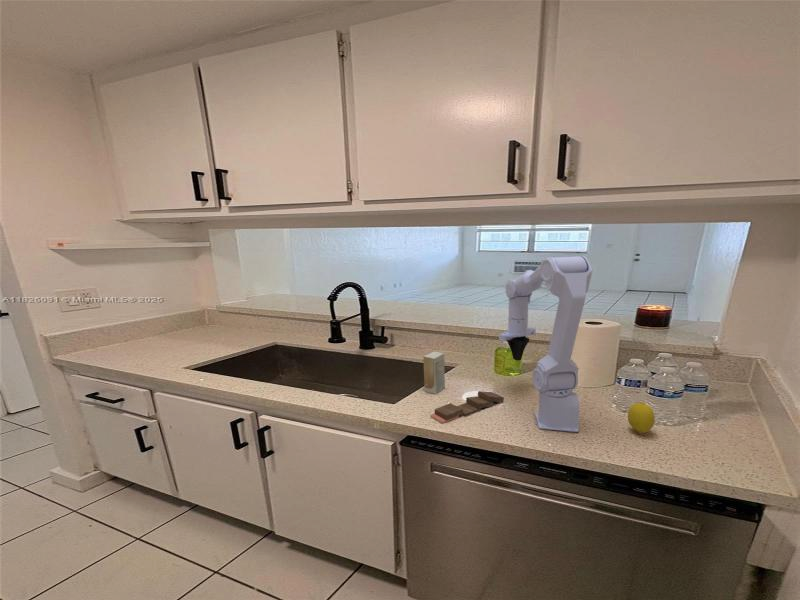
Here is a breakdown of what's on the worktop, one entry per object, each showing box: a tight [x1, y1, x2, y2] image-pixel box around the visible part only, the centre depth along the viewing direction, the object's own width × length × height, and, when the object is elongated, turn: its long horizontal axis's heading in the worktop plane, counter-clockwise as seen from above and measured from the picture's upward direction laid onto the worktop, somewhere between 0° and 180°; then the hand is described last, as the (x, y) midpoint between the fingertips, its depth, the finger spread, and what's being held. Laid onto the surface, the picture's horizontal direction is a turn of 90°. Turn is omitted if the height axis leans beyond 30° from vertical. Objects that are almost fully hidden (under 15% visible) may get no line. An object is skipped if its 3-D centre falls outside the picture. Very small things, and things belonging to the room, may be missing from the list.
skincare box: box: [423, 351, 446, 395], centre depth 119 cm, size 6×4×12 cm
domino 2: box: [430, 412, 460, 425], centre depth 101 cm, size 1×5×6 cm
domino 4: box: [465, 396, 494, 409], centre depth 108 cm, size 1×5×6 cm
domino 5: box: [477, 390, 505, 403], centre depth 110 cm, size 1×5×6 cm
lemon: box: [627, 401, 656, 434], centre depth 90 cm, size 6×6×8 cm
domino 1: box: [434, 402, 463, 420], centre depth 102 cm, size 1×5×6 cm
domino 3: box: [456, 402, 481, 418], centre depth 105 cm, size 1×5×6 cm
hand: (517, 359), depth 116 cm, fingers closed
